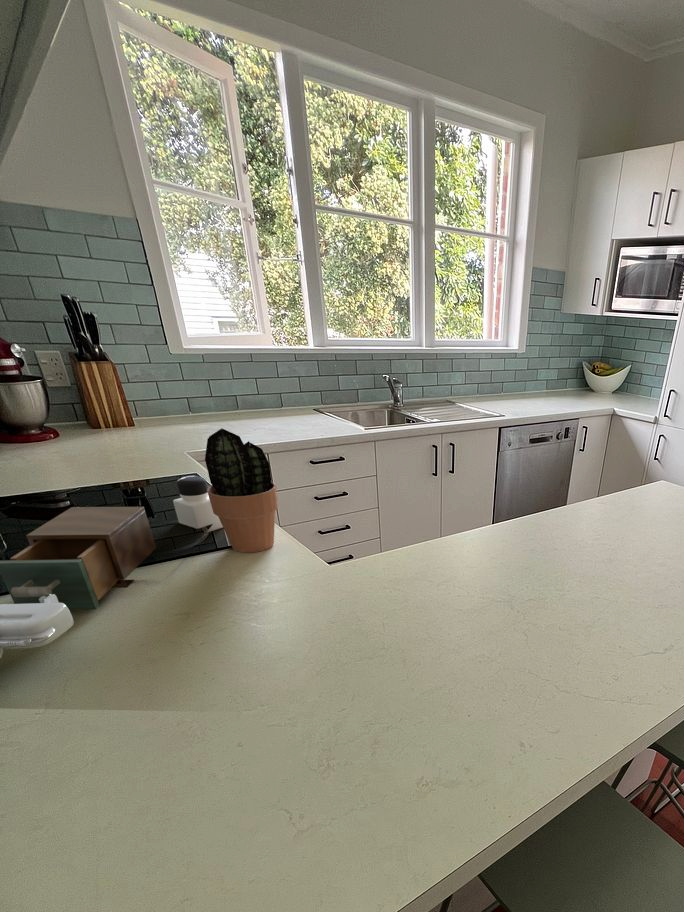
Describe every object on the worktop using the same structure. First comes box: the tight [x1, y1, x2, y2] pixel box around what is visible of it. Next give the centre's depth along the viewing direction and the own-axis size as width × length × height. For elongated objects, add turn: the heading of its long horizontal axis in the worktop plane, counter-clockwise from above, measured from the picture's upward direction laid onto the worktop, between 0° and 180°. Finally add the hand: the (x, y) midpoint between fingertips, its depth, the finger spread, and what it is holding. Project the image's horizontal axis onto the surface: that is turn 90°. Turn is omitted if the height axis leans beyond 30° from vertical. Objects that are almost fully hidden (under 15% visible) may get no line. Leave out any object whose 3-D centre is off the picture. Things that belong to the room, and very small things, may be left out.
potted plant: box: [204, 428, 279, 553], centre depth 115 cm, size 14×14×25 cm
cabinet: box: [25, 506, 157, 589], centre depth 106 cm, size 16×14×11 cm
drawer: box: [0, 539, 120, 611], centre depth 95 cm, size 19×12×9 cm, turn 7°
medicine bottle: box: [172, 475, 224, 534], centre depth 127 cm, size 7×7×12 cm
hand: (19, 599), depth 84 cm, fingers open, 8 cm apart
